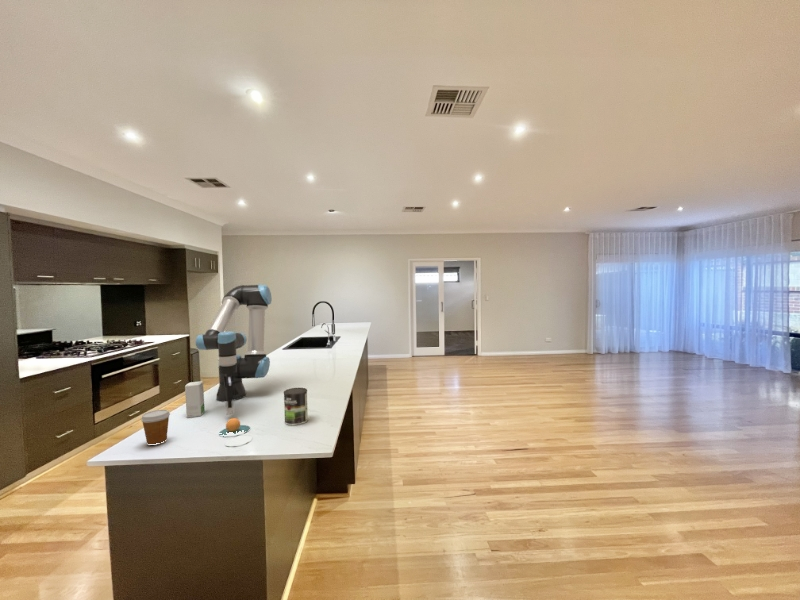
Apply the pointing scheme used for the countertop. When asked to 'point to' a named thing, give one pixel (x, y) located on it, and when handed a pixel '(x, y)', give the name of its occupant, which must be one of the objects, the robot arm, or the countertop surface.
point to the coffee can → (295, 406)
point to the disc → (242, 427)
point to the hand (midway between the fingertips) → (229, 413)
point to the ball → (233, 425)
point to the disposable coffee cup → (155, 426)
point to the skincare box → (194, 399)
